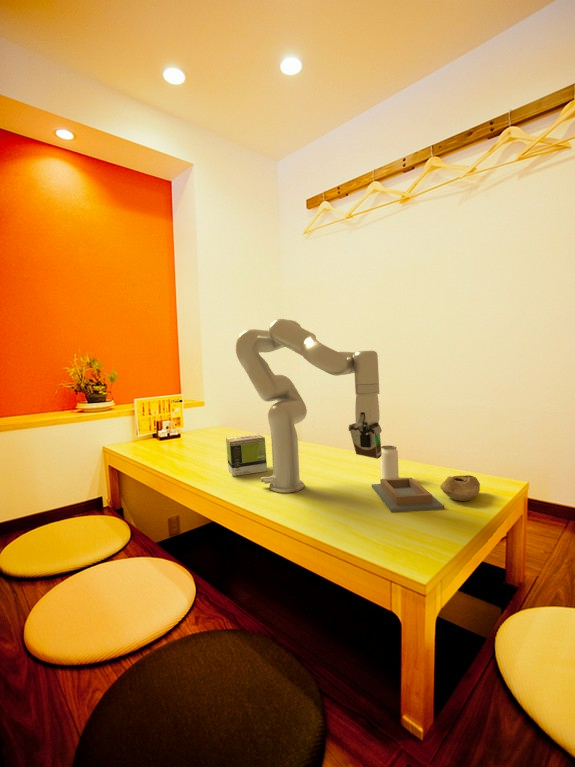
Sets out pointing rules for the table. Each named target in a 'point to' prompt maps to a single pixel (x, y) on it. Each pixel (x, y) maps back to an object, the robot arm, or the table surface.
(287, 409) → the robot arm
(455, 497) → the oil lamp
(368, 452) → the food container
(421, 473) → the table surface
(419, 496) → the tray
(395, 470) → the can
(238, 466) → the tea box
